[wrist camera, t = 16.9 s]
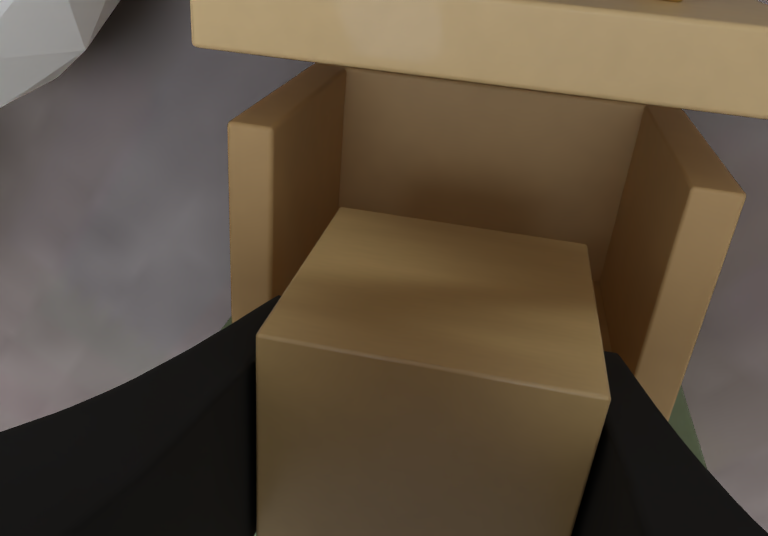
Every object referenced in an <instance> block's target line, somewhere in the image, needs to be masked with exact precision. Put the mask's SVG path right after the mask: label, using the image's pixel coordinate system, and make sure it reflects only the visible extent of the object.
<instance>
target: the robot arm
mask: <svg viewBox="0 0 768 536" xmlns="http://www.w3.org/2000/svg"><path fill="white" fill-rule="evenodd" d="M280 297H281V296H280V295H278V296H276V297H274V298H273V299H271V300H269V301H267V302H266V303H264V304H263V305H261V306H259V307H258V308H256V309H254V310H253V311H251V312H250V313H248V314H246V315H245V316H243V317H242V318H240V319H239V320H237V321H235V322H234V323H232V324H231V325H229V326H227V327H226V328H224V329H222V330H221V331H219V332H217V333H216V334H214V335H212V336H211V337H209V338H207V339H206V340H204V341H202V342H201V343H199V344H197V345H196V346H194V347H192V348H191V349H189V350H187V351H185V352H183V353H181V354H180V355H178V356H176V357H174V358H172V359H170V360H168V361H167V362H165V363H163V364H161V365H159V366H157V367H155V368H153V369H152V370H150V371H148V372H146V373H144V374H142V375H140V376H139V377H137V378H135V379H133V380H131V381H128V382H126V383H124V384H122V385H120V386H118V387H116V388H114V389H111V390H109V391H107V392H105V393H103V394H100V395H98V396H96V397H93V398H91V399H88V400H86V401H84V402H81V403H79V404H77V405H74V406H72V407H69V408H67V409H64V410H62V411H59V412H57V413H54V414H51V415H48V416H45V417H42V418H40V419H37V420H34V421H31V422H28V423H25V424H22V425H19V426H17V427H14V428H11V429H8V430H5V431H2V432H0V536H254V535H255V533H256V334H257V332H258V331H259V329H260V328H261V326H262V325H263V323H264V322H265V320H266V319H267V317H268V316H269V314H270V313H271V311H272V310H273V308H274V307H275V305H276V304H277V302H278V300H279V299H280ZM604 357H605V363H606V370H607V376H608V383H609V389H610V395H611V402H610V405H609V409H608V412H607V415H606V419H605V422H604V426H603V429H602V433H601V436H600V439H599V443H598V446H597V450H596V453H595V456H594V460H593V463H592V467H591V470H590V473H589V477H588V480H587V484H586V487H585V491H584V494H583V497H582V501H581V504H580V508H579V511H578V514H577V518H576V521H575V525H574V528H573V531H572V535H571V536H768V533H767V532H766V531H765V530H764V529H763V528H762V527H761V526H760V525H758V524H757V523H756V522H755V521H754V520H753V519H752V518H751V517H750V516H749V515H748V514H747V512H746V511H745V510H744V509H743V508H742V507H741V506H740V505H739V504H738V503H737V502H736V501H735V500H734V499H733V498H732V497H731V496H730V495H729V493H728V492H727V491H726V490H725V489H724V488H723V487H722V486H721V484H720V483H719V482H718V481H717V480H716V479H715V478H714V477H713V476H712V474H711V473H710V472H709V471H708V470H707V469H706V468H705V467H704V465H703V464H702V463H701V462H700V461H699V459H698V458H697V457H696V456H695V455H694V454H693V452H692V451H691V450H690V449H689V448H688V446H687V445H686V444H685V443H684V441H683V440H682V439H681V438H680V436H679V435H678V434H677V433H676V431H675V430H674V429H673V428H672V426H671V425H670V424H669V422H668V421H667V420H666V419H665V417H664V416H663V415H662V413H661V412H660V411H659V409H658V408H657V407H656V405H655V404H654V403H653V401H652V400H651V398H650V397H649V396H648V394H647V393H646V392H645V390H644V389H643V387H642V386H641V385H640V383H639V382H638V380H637V379H636V378H635V376H634V375H633V374H632V372H631V371H630V369H629V368H628V367H627V365H626V364H625V362H624V361H623V360H622V358H621V357H620V356H619V354H618V353H613V352H607V351H604Z"/></svg>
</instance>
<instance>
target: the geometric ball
mask: <svg viewBox="0 0 768 536" xmlns="http://www.w3.org/2000/svg"><path fill="white" fill-rule="evenodd" d="M119 1H120V0H0V108H1V107H3V106H5V105H7V104H9V103H10V102H12V101H14V100H16V99H18V98H20V97H22V96H24V95H26V94H28V93H29V92H31V91H33V90H35V89H37V88H39V87H41V86H43V85H45V84H47V83H49V82H50V81H52V80H54V79H56V78H58V77H59V76H60V75H61V74H62V73H63V72H64V71H65V70H66V69H67V68H68V67H69V66H70V65H71V64H72V63H73V62H74V61H75V60H76V59H77V58H78V57H79V56H80V55H81V54H82V53H83V52H84V51H85V50H86V49H87V48H88V46H89V45H90V43H91V42H92V40H93V39H94V38H95V36H96V35H97V33H98V32H99V30H100V29H101V27H102V26H103V25H104V23H105V22H106V20H107V19H108V17H109V16H110V14H111V13H112V12H113V10H114V9H115V7H116V6H117V4H118V3H119Z"/></svg>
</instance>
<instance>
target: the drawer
mask: <svg viewBox="0 0 768 536" xmlns="http://www.w3.org/2000/svg"><path fill="white" fill-rule="evenodd" d="M190 10H191V33H192V43H193V45H194V46H196V47H198V48H205V49H213V50H220V51H228V52H236V53H244V54H252V55H260V56H268V57H276V58H284V59H292V60H300V61H308V62H315V64H314V65H312V66H310V67H309V68H307V69H306V70H304V71H303V72H301V73H300V74H298V75H297V76H295V77H294V78H292V79H291V80H290V81H288V82H287V83H285V84H284V85H282V86H281V87H279V88H278V89H276V90H275V91H273V92H272V93H270V94H269V95H268V96H266V97H265V98H263V99H262V100H260V101H259V102H257V103H256V104H254V105H253V106H251V107H250V108H248V109H247V110H245V111H244V112H243V113H241V114H240V115H238V116H237V117H235V118H234V119H232V120H231V121H229V123H228V125H227V127H228V173H229V219H230V265H231V311H232V323H234V322H235V321H237V320H239V319H240V318H242V317H243V316H245V315H246V314H248V313H250V312H251V311H253V310H254V309H256V308H258V307H259V306H261V305H263V304H264V303H266V302H267V301H269V300H271V299H273V298H274V297H276V296H278V295H280V296H282V294H283V293H284V291H285V290H286V288H287V287H288V285H289V284H290V282H291V281H292V279H293V278H294V276H295V275H296V273H297V272H298V270H299V269H300V267H301V266H302V264H303V263H304V261H305V260H306V258H307V257H308V255H309V254H310V252H311V251H312V249H313V248H314V246H315V245H316V243H317V241H318V240H319V238H320V237H321V235H322V234H323V232H324V231H325V229H326V228H327V226H328V225H329V223H330V222H331V220H332V219H333V217H334V216H335V214H336V213H337V211H338V210H339V208H340V207H345V208H351V209H358V210H364V211H371V212H378V213H384V214H391V215H397V216H404V217H410V218H417V219H423V220H430V221H436V222H443V223H450V224H456V225H463V226H469V227H476V228H482V229H489V230H495V231H502V232H508V233H515V234H521V235H528V236H535V237H541V238H548V239H554V240H561V241H567V242H574V243H580V244H585V245H587V248H588V255H589V261H590V268H591V274H592V280H593V287H594V293H595V300H596V306H597V312H598V319H599V325H600V331H601V338H602V344H603V351H607V352H613V353H618V354H619V356H620V357H621V358H622V360H623V361H624V362H625V364H626V365H627V367H628V368H629V369H630V371H631V372H632V374H633V375H634V376H635V378H636V379H637V380H638V382H639V383H640V385H641V386H642V387H643V389H644V390H645V392H646V393H647V394H648V396H649V397H650V398H651V400H652V401H653V403H654V404H655V405H656V407H657V408H658V409H659V411H660V412H661V413H662V415H663V416H664V417H665V419H666V420H667V421H669V418H670V415H671V412H672V409H673V406H674V403H675V400H676V398H677V395H678V392H679V389H680V386H681V383H682V380H683V377H684V375H685V372H686V369H687V366H688V363H689V360H690V357H691V354H692V352H693V349H694V346H695V343H696V340H697V337H698V334H699V331H700V328H701V326H702V323H703V320H704V317H705V314H706V311H707V308H708V305H709V303H710V300H711V297H712V294H713V291H714V288H715V285H716V282H717V279H718V277H719V274H720V271H721V268H722V265H723V262H724V259H725V256H726V254H727V251H728V248H729V245H730V242H731V239H732V236H733V233H734V231H735V228H736V225H737V222H738V219H739V216H740V213H741V210H742V207H743V205H744V202H745V199H746V194H745V192H744V191H743V190H742V188H741V187H740V186H739V184H738V183H737V182H736V180H735V179H734V178H733V176H732V175H731V174H730V172H729V171H728V170H727V168H726V167H725V166H724V164H723V163H722V162H721V160H720V159H719V158H718V156H717V155H716V154H715V152H714V151H713V150H712V148H711V147H710V146H709V144H708V143H707V142H706V140H705V139H704V138H703V136H702V135H701V134H700V132H699V131H698V130H697V128H696V127H695V126H694V124H693V123H692V122H691V120H690V119H689V118H688V116H687V115H686V114H685V112H684V111H682V109H688V110H695V111H703V112H711V113H719V114H727V115H735V116H743V117H751V118H759V119H767V120H768V5H766V4H764V3H761V2H759V1H756V0H190Z"/></svg>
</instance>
